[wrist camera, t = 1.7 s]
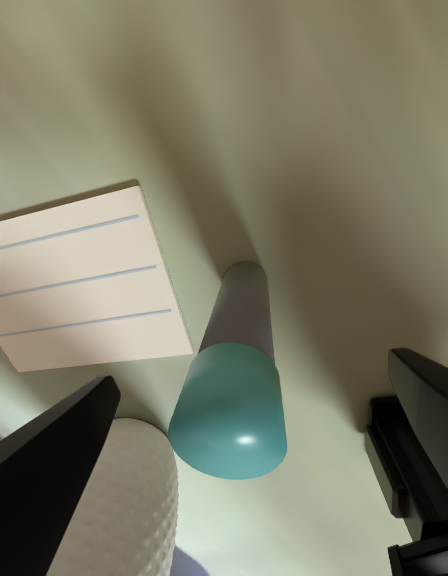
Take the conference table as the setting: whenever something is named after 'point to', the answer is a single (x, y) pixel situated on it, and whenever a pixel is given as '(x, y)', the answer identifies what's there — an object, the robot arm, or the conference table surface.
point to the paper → (87, 286)
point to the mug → (124, 508)
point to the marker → (233, 386)
